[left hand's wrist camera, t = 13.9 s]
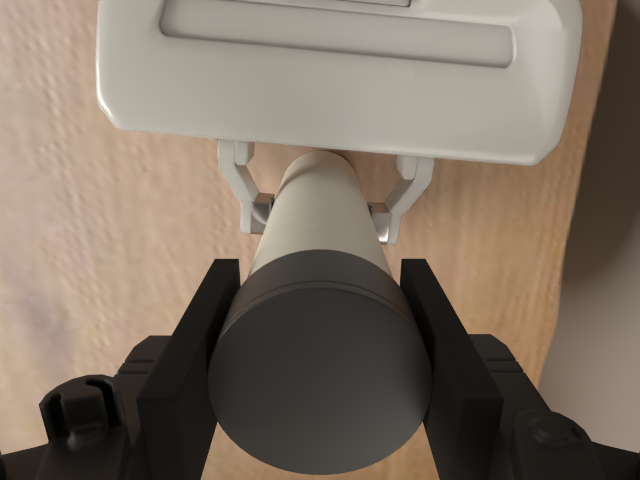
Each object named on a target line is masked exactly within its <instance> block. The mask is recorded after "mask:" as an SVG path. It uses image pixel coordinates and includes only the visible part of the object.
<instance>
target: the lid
mask: <svg viewBox="0 0 640 480" xmlns="http://www.w3.org/2000/svg"><path fill="white" fill-rule="evenodd" d="M207 382H208V391H209V400H210V405H211V408H212V410H213V413H214V415H215V417H216V419H217V421H218V422H219V424H220V426H221V427H222V429H223V430H224V431H225V433H226V434H227V435H228V436H229V437H230V439H231V440H232V441H234V442H235V443H236V444H237V445H238V446H239V447H240V448H241V449H243V450H244V451H245V452H247V453H248V454H250V455H251V456H253V457H255V458H256V459H258V460H260V461H262V462H264V463H266V464H269V465H271V466H273V467H276V468H280V469H283V470H286V471H291V472H296V473H302V474H311V475H329V474H339V473H345V472H350V471H354V470H357V469H361V468H364V467H367V466H369V465H372V464H374V463H376V462H379V461H380V460H382V459H384V458H386V457H388V456H389V455H391V454H392V453H394V452H395V451H396V450H398V449H399V448H400V447H401V446H402V445H404V444H405V443H406V442H407V441H408V440H409V439H410V438H411V437H412V435H413V434H414V433H415V432H416V431H417V429H418V428H419V426H420V425H421V423H422V421H423V420H424V418H425V416H426V413H427V411H428V409H429V406H430V402H431V394H432V385H433V369H432V364H431V359H430V356H429V354H428V351H427V349H426V346H425V343H424V341H423V338H422V336H421V333H420V330H419V328H418V325H417V323H416V320H415V317H414V315H413V312H412V310H411V307H410V304H409V302H408V299H407V298H406V296H405V294H404V292H403V291H402V289H401V288H400V287H399V285H398V284H397V283H396V281H395V280H394V279H393V278H392V277H391V276H389V275H388V274H387V273H386V272H385V271H384V270H382V269H381V268H380V267H378V266H377V265H375V264H373V263H372V262H370V261H368V260H366V259H364V258H361V257H359V256H356V255H354V254H350V253H346V252H342V251H336V250H328V249H312V250H304V251H298V252H294V253H290V254H287V255H284V256H281V257H279V258H276V259H274V260H272V261H270V262H269V263H267V264H265V265H263V266H262V267H261V268H259V269H258V270H257V271H255V272H254V273H253V274H252V275H251V276H250V277H249V278H248V279H247V280H246V281H245V282H244V283H243V284H242V286H241V287H240V288H239V290H238V291H237V293H236V295H235V296H234V298H233V300H232V303H231V305H230V308H229V310H228V313H227V315H226V318H225V321H224V323H223V326H222V328H221V331H220V333H219V336H218V339H217V341H216V344H215V346H214V349H213V352H212V354H211V357H210V360H209V365H208V369H207Z"/></svg>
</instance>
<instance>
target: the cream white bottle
mask: <svg viewBox="0 0 640 480" xmlns="http://www.w3.org/2000/svg"><path fill="white" fill-rule="evenodd" d="M312 249H328V250H336V251H342V252H346V253H350V254H354V255H356V256H359V257H361V258H364V259H366V260H368V261H370V262H372V263H373V264H375V265H377V266H378V267H380V268H381V269H382V270H384V271H385V272H386V273H387V274H388V275H389V276H391V277H392V274H391V271H390V269H389V266H388V263H387V260H386V257H385V254H384V252H383V249H382V246H381V243H380V240H379V238H378V235H377V232H376V229H375V226H374V223H373V221H372V218H371V215H370V212H369V209H368V206H367V204H366V201H365V198H364V195H363V192H362V190H361V187H360V184H359V181H358V178H357V176H356V173H355V171H354V169H353V168H352V166H351V165H350V164H349V163H348V162H347V161H346V160H345V159H344V158H343V157H341V156H339V155H337V154H335V153H332V152H329V151H312V152H308V153H305V154H303V155H301V156H300V157H298V158H297V159H295V160H294V161H293V162H292V163H291V164H290V166H289V167H288V168H287V170H286V172H285V174H284V177H283V179H282V182H281V185H280V188H279V191H278V193H277V196H276V199H275V202H274V205H273V208H272V210H271V213H270V216H269V219H268V222H267V224H266V227H265V230H264V233H263V236H262V238H261V241H260V244H259V247H258V250H257V252H256V255H255V258H254V261H253V264H252V267H251V269H250V272H249V275H248V278H249V277H250V276H251V275H252V274H253V273H254V272H255V271H257V270H258V269H259V268H261V267H262V266H263V265H265V264H267V263H269V262H270V261H272V260H274V259H276V258H279V257H281V256H284V255H287V254H290V253H294V252H298V251H304V250H312ZM248 278H247V279H248ZM392 278H393V277H392Z"/></svg>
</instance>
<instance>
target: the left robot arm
mask: <svg viewBox="0 0 640 480" xmlns="http://www.w3.org/2000/svg"><path fill="white" fill-rule="evenodd" d="M240 287H241V286H240V272H239V259H215V260H214V262H213V263H212V265H211V267H210V269H209V270H208V272H207V274H206V276H205V278H204V279H203V281H202V283H201V285H200V286H199V288H198V290H197V292H196V293H195V295H194V297H193V299H192V301H191V302H190V304H189V306H188V308H187V309H186V311H185V313H184V315H183V316H182V318H181V320H180V322H179V324H178V325H177V327H176V329H175V331H174V332H173V334H172V336H149V337H147V338H146V339H144V340H143V341H142V342H140V343H139V344H138V345H136V346H135V347H134V348H133V349H132V351H131V352H130V354H129V355H128V357H127V358H126V360H125V363H123V364H122V366H121V367H120V369H119V370H118V373H117V374H115V376H114V377H110V376H106V375H86V376H82V377H78V378H75V379H72V380H69V381H67V382H65V383H63V384H61V385H59V386H57V387H56V388H54V389H53V390H52V391H50V392H49V393H48V394H46V396H45V397H44V398H43V400H42V401H41V402H40V404H39V407H40V411H41V414H42V418H43V422H44V425H45V429H46V433H47V436H48V440H49V442H48V444H45V445H41V446H38V447H34V448H30V449H26V450H21V451H17V452H13V453H9V454H4V455H1V451H0V480H200V479H201V476H202V472H203V469H204V466H205V462H206V459H207V455H208V452H209V449H210V445H211V442H212V438H213V435H214V432H215V428H216V425H217V419H216V417H215V415H214V413H213V410H212V408H211V405H210V400H209V391H208V382H207V369H208V365H209V360H210V357H211V354H212V352H213V349H214V346H215V344H216V341H217V339H218V336H219V333H220V331H221V328H222V326H223V323H224V321H225V318H226V315H227V313H228V310H229V308H230V305H231V303H232V300H233V298H234V296H235V295H236V293H237V291H238V290H239V288H240ZM400 288H401V289H402V291H403V292H404V294H405V296H406V298H407V299H408V302H409V304H410V307H411V310H412V312H413V315H414V317H415V320H416V323H417V325H418V328H419V330H420V333H421V336H422V338H423V341H424V343H425V346H426V349H427V351H428V354H429V356H430V359H431V364H432V369H433V385H432V394H431V402H430V406H429V409H428V411H427V413H426V416H425V418H424V420H423V424H424V427H425V431H426V434H427V438H428V441H429V444H430V448H431V451H432V455H433V458H434V461H435V465H436V468H437V472H438V475H439V478H440V480H640V453H635V452H631V451H626V450H622V449H618V448H614V447H610V446H605V445H602V444H599V443H595V442H592V441H591V440H590V438H589V436H588V435H587V433H586V432H585V430H584V429H582V428H581V427H580V426H579V425H578V424H577V423H575V422H574V421H573V420H571V419H569V418H567V417H565V416H563V415H561V414H560V413H556V412H553V411H551V410H550V409H549V407H548V406H547V404H546V403H545V401H544V400H543V398H542V397H541V396H540V394H539V393H538V391H537V390H536V388H535V387H534V385H533V384H532V382H531V381H530V379H529V378H528V376H527V375H526V374H525V373H523V369H522V368H521V366H520V365H519V363H518V362H516V360H515V357H514V356H513V355H512V353H511V352H510V350H509V349H508V347H507V346H506V345H505V344H503V343H502V342H501V341H499V340H498V339H497V338H495V337H494V336H492V335H491V334H467V332H466V330H465V328H464V327H463V325H462V323H461V321H460V320H459V318H458V316H457V314H456V312H455V311H454V309H453V307H452V305H451V304H450V302H449V300H448V298H447V296H446V295H445V293H444V291H443V289H442V288H441V286H440V284H439V282H438V281H437V279H436V277H435V275H434V273H433V272H432V270H431V268H430V266H429V265H428V263H427V261H426V259H402V261H401V276H400Z"/></svg>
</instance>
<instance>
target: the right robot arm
mask: <svg viewBox="0 0 640 480" xmlns="http://www.w3.org/2000/svg"><path fill="white" fill-rule="evenodd" d="M582 35H583V12H582V6H581V2H580V0H99V4H98V16H97V29H96V65H95V71H96V97H97V102H98V105H99V107H100V109H101V110H102V111H103V113H104V114H105V115H106V116H107V118H108V119H109V120H110V122H111V123H112V124H113V125H114V126H115V127H116V128H117V129H119V130H123V131H134V132H145V133H156V134H168V135H179V136H191V137H202V138H213V139H218V163H217V164H218V165H219V167H220V169H221V171H222V172H223V174H224V176H225V178H226V179H227V181H228V183H229V185H230V186H231V188H232V190H233V192H234V193H235V195H236V197H237V199H238V200H241V220H240V230H241V233H245V234H261V235H263V233H264V230H265V227H266V224H267V222H268V219H269V216H270V213H271V210H272V208H273V205H274V201H275V194H268V193H259V190H258V188H257V186H256V184H255V182H254V180H253V178H252V176H251V174H250V172H249V170H248V168H247V166H246V164H247V163H248V162H249V161H250V160H251V158H252V157H253V156H254V143H255V142H259V143H270V144H282V145H293V146H304V147H316V148H327V149H339V150H350V151H361V152H373V153H384V154H395V155H397V158H396V166H395V168H396V169H397V171H398V172H399V173H400V175H401V176H402V178H401V180H400V181H399V182H398V184H397V185H396V186H395V188H394V189H393V190H392V192H391V193H390V194H389V196H388V197H387V198H386V200H385V201H384V203H375V202H368V209H369V212H370V215H371V218H372V221H373V223H374V226H375V229H376V232H377V235H378V238H379V240H380V243H381V245H391V246H395V245H396V244H397V241H398V235H399V229H400V222H401V216H402V214H405V213H406V212H407V210H408V209H409V208H410V207H411V206H412V204H413V203H414V202H415V201H416V200H417V198H418V197H419V196H420V195H421V194H422V192H423V191H424V190H425V189H426V188H427V187H428V185H429V184H430V183H431V180H432V174H433V169H434V163H435V158H441V159H452V160H464V161H475V162H486V163H498V164H509V165H521V166H534V165H536V164H538V163H539V162H540V161H541V160H543V159H544V158H545V157H546V156H547V155H548V154H549V153H550V152H551V151H552V150H553V149H554V148H555V147H556V146H557V145H558V143H559V141H560V139H561V136H562V133H563V130H564V127H565V123H566V119H567V116H568V111H569V107H570V103H571V99H572V94H573V89H574V85H575V79H576V74H577V68H578V62H579V56H580V50H581V42H582Z"/></svg>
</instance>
